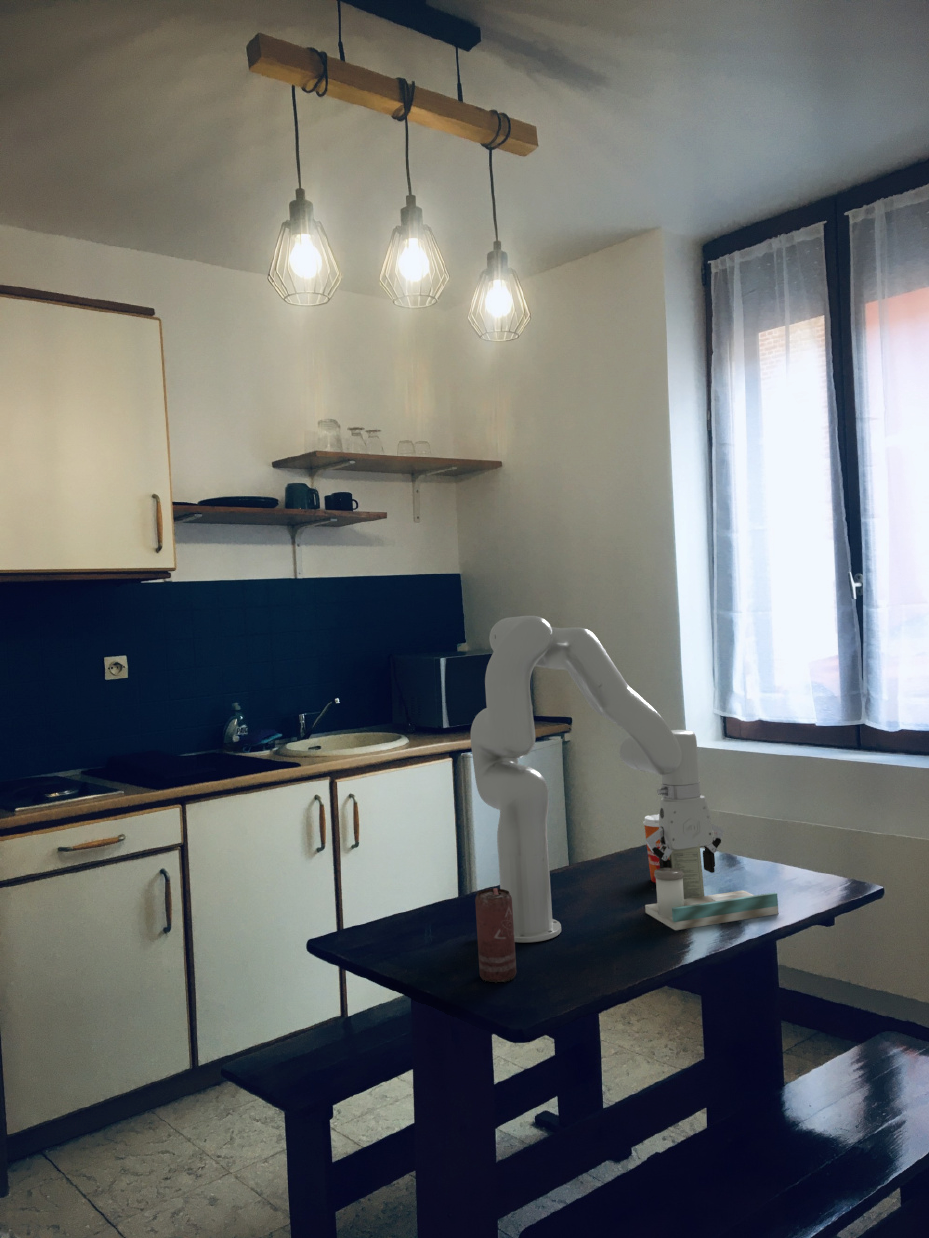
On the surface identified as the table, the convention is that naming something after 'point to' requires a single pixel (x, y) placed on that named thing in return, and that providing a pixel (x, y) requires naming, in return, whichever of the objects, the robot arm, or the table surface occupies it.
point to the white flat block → (717, 909)
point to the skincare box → (689, 870)
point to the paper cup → (650, 828)
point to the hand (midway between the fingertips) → (688, 874)
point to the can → (495, 935)
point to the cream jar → (669, 890)
